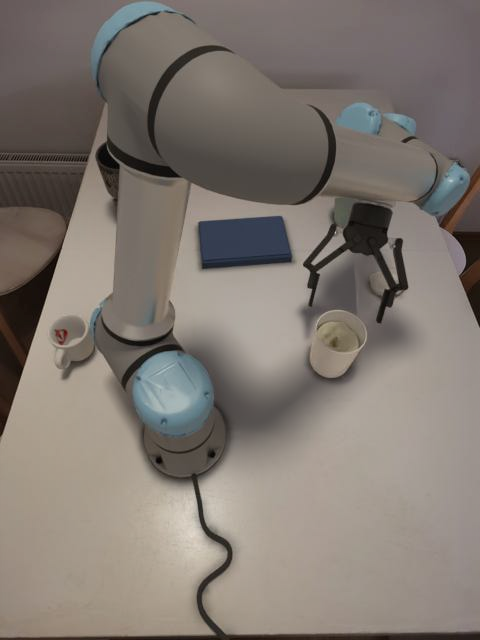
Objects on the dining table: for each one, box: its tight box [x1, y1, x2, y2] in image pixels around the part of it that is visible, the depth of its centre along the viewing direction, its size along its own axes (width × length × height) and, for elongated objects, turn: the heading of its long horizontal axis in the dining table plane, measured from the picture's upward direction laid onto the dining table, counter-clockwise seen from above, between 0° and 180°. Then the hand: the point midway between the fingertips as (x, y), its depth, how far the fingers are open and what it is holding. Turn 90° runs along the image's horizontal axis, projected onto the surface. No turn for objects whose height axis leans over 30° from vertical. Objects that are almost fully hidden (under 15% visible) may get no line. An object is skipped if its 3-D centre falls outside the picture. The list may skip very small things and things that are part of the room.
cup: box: [46, 313, 95, 371], centre depth 88 cm, size 11×8×8 cm
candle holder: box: [309, 309, 368, 379], centre depth 86 cm, size 10×10×12 cm
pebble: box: [368, 267, 403, 297], centre depth 100 cm, size 9×8×5 cm
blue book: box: [197, 215, 293, 270], centre depth 108 cm, size 14×22×2 cm, turn 97°
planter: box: [94, 140, 120, 212], centre depth 108 cm, size 13×13×18 cm
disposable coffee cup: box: [333, 198, 357, 228], centre depth 108 cm, size 11×11×15 cm
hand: (343, 314), depth 85 cm, fingers open, 13 cm apart
